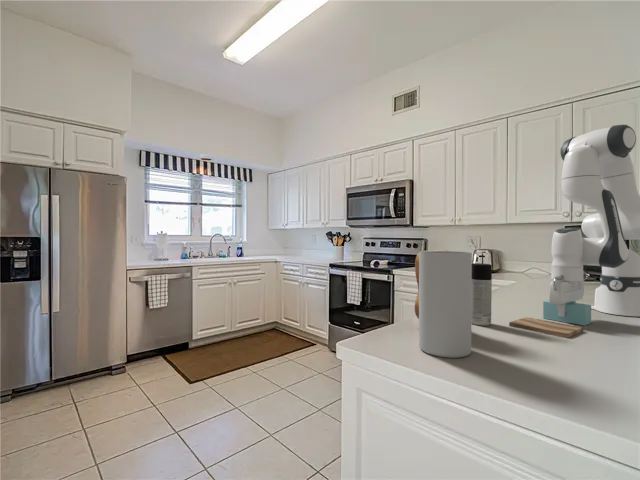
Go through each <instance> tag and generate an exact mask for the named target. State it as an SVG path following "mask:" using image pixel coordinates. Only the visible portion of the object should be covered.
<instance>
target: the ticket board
mask: <svg viewBox="0 0 640 480" xmlns="http://www.w3.org/2000/svg"><path fill="white" fill-rule="evenodd" d="M508 324H509V327H513V328H516V329H517V328H518V329H523V330H528V331H533V332H536V333H541V334H547V335H551V336H556V337H561V338H566V339H569V338H571V337H573V336H575V335H578V334H581V333H583V331H584V327H583V326H582V327H581V326H579V325H578V326H577V325H574V324H573V325H571V324H567V323H560V322H556V321H555V322H554V321H552V320H551V321H549V320H546V319H545V320H544V319H540V318H539V319H538V318H533V317H527V316H526V317H522V318H519V319H515V320H513V321H509V323H508Z"/></svg>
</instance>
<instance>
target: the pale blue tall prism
mask: <svg viewBox="0 0 640 480" xmlns="http://www.w3.org/2000/svg"><path fill="white" fill-rule="evenodd" d="M542 303H543V304H542V305H543V306H542V307H543V308H542V309H543V311H542V316H543V317H542V318H543V319H545V320H551V321H555V322H556V321H558V322H564V323H566V324H567V323H568V324H573V325H574V324H575V325H578V326H579V325H580V326H584V327H585V326H587V325H590V324H591V323H592V309H591V306H592V304H585V303H578V302H576V303H572V302H570V303H566V304H565V311H566V316H564V317H562V316H559V315H558V309H557V305H556V304H551V303H550V302H549V299H547V300H544V301H543V302H542Z"/></svg>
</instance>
